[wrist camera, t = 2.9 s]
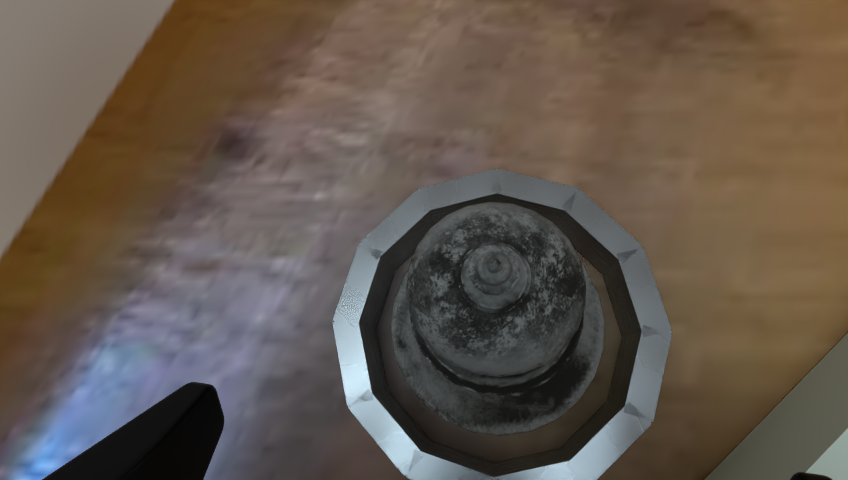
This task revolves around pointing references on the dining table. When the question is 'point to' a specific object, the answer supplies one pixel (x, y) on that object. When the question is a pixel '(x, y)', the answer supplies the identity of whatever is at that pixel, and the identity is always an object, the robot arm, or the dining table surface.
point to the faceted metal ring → (596, 241)
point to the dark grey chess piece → (497, 320)
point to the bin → (799, 429)
